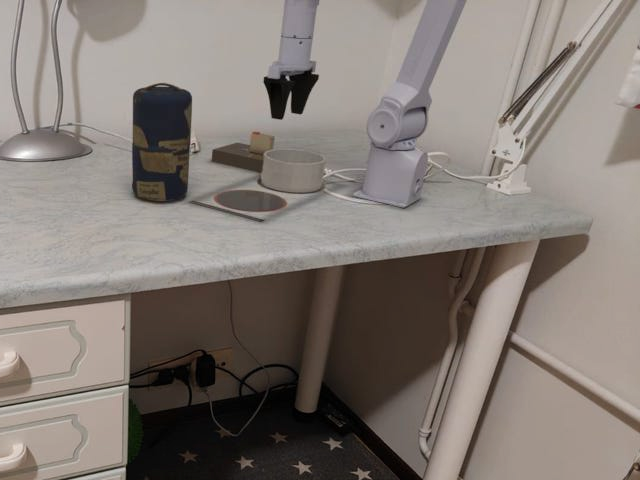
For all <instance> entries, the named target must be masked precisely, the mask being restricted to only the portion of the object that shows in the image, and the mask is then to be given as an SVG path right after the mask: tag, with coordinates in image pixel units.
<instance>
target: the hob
mask: <svg viewBox="0 0 640 480" xmlns="http://www.w3.org/2000/svg"><path fill="white" fill-rule="evenodd" d="M256 183H257V185H259V186H260V187H261V188H264V189H266V190H269V191H272V192H275V193H276V192H277V193H282V194H290V195H311V194H318V193H321V192H322V191H324V190H326V185H325V184H324V183H322V187H321V188H320V189H319V190H317V191H313V192H304V193H296V192H285V191H279V190H275V189H271V188H268V187H266V186H264V185H263V184H262V183H261V177H259V178H258V179H257V180H256ZM272 192H267V191H263V190H254V189H229V190H225V191H221V192H218V193H216V194H215V195H214V196H213V201H214V202H215V203H216V204H218V205H219V206H222V207H224V208H220V207H217V206H214V205H211V204H208V203H207V204H206V203H203V202H199V201H195V200H191V201H188V203H189V204H193V205H197V206H200V207H204V208H208V209H211V210H215V211H218V212H223V213H225V214H229V215H233V216H237V217H239V218H244V219H248V220H252V221H254V222H259V223H263V222H264V221H266V220H265V219H261V218H259V217H256V216H255V217H254V216H251V215H248V214H243V213H240V212H245V213H247V212H248V213H269V212H277V211H280V210H283V209H285V208H286V207H287V206H288V201H287V199H285V198H283V197H282V196H279V195H277V194H274V193H272ZM225 208H227V209H225ZM230 209H231V210H230ZM232 210H233V211H232ZM236 211H239V212H236Z"/></svg>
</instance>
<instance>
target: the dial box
mask: <svg viewBox="0 0 640 480" xmlns="http://www.w3.org/2000/svg"><path fill="white" fill-rule="evenodd" d="M249 150H250V144H246V143H242V142H233V143H231V144H226V145H223V146H220V147H215V148H213V149H212V150H211V163H215V164H220V165H225V166H229V167H232V168H238V169H242V170H246V171H250V172H255V173H258V174H261V173H262V164H263V154H258V153H253V152H249Z"/></svg>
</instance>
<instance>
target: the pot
mask: <svg viewBox="0 0 640 480" xmlns="http://www.w3.org/2000/svg"><path fill="white" fill-rule="evenodd" d="M326 162H327V158H326V156H325V155H323V154H321V153H318V152H314V151H311V150H305V149H298V148H275V149H274V148H273V150H269V151H266V152H265V153H264V155H263V164H262V173H260V178H261V183H262V184H263V185H264V186H266V187H268V188H271V189H275V190H279V191H285V192H296V193H304V192H313V191H317V190H319V189H320V188H321V187H322V183H323V182H324V175H325V169H326ZM323 184H324V183H323Z"/></svg>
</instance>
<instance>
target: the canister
mask: <svg viewBox="0 0 640 480" xmlns="http://www.w3.org/2000/svg"><path fill="white" fill-rule="evenodd" d="M192 116H193V96H192V93H191V92H190V91H188V90H187V89H184V88H181V87H179V86H176V85H174V84H171V83H168V82H158V83H154V84H151V85H148V86H145V87H140V88H138V89H136V90H135V91H134V92H133V94H132V144H131V157H132V158H131V166H132V169H131V170H132V183H131V189H132V192H133V194H134V195H135V196H137V197H139V198H141V199H144V200H148V201H155V202H168V201H174V200H178V199H181V198H183V197H185V196H186V194H187V192H188V187H189V174H190V173H189V170H190V151H191V150H190V148H191V140H192V139H191V136H192V119H193V118H192Z"/></svg>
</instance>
